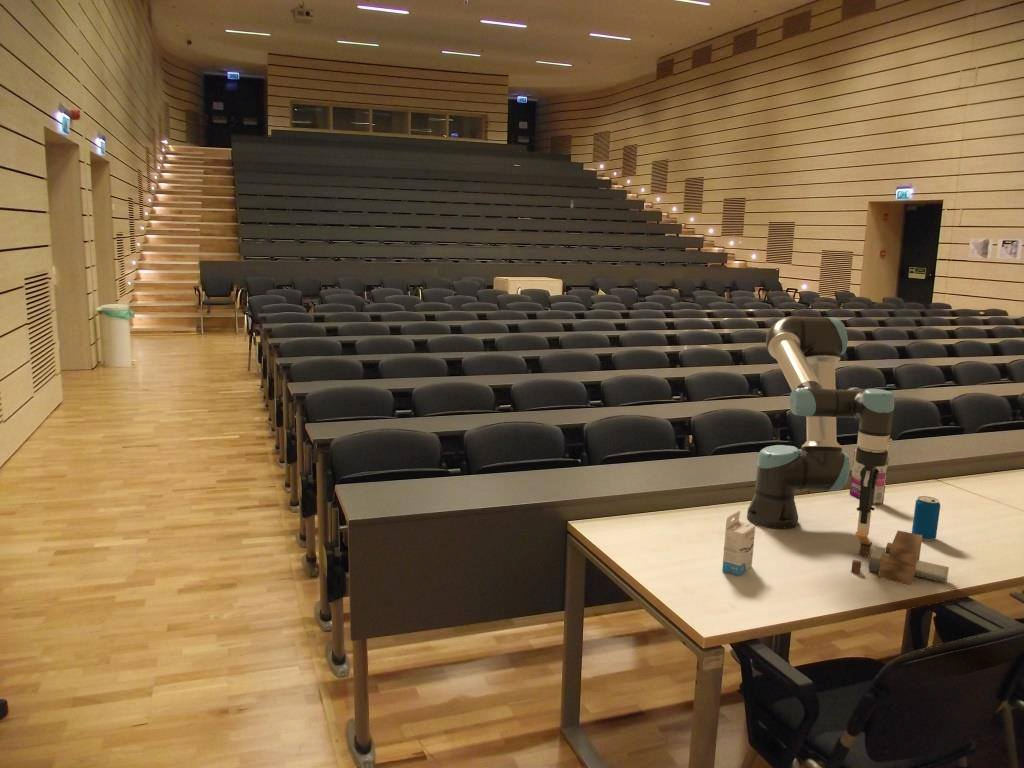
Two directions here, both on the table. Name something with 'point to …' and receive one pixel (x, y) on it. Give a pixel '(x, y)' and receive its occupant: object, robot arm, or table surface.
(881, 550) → the pin
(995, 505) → the table surface
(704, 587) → the table surface
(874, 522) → the table surface
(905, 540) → the hitch block
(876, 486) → the candy bar box
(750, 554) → the ink box
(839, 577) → the table surface
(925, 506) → the beverage can
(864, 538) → the bar
